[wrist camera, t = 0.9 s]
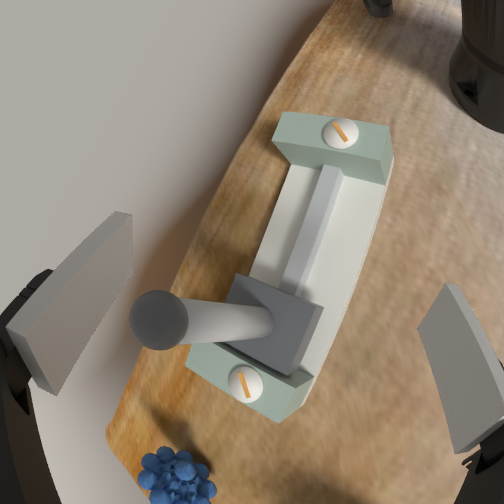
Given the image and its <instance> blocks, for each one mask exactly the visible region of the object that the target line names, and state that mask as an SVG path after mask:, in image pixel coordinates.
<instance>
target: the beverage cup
mask: <svg viewBox="0 0 504 504" xmlns="http://www.w3.org/2000/svg"><path fill="white" fill-rule="evenodd" d="M363 1H364V3H365V6H366V7H367V9H368V12H369V14H371V15H372V16H375V17H387V16H389V15H391V14H392V13H393V9H392V0H363Z"/></svg>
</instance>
